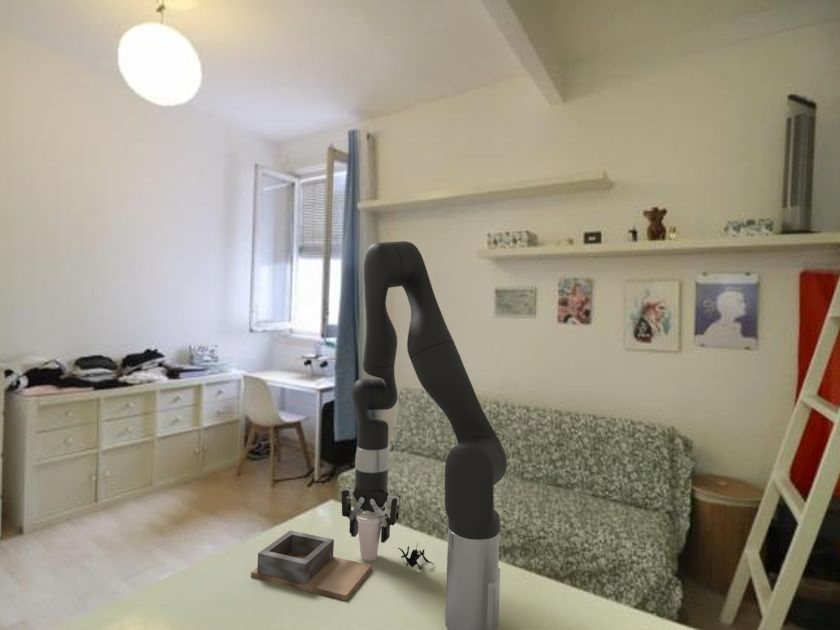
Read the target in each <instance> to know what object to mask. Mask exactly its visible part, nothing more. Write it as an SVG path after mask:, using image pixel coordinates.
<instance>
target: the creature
mask: <svg viewBox="0 0 840 630" xmlns="http://www.w3.org/2000/svg"><path fill="white" fill-rule="evenodd" d="M418 544H419V542H417V544H416V548H415V549H413V550H412V551H411V554H410V557H408V555H409V551H410V546H407V548H406V550H407V551H406V553H405V551H404V550H403V549H402V548H400V547H398V548H397V550H398V549H399V550H400V552H401V553H402V554H403V555H401V556H400V558H403V559H404V558H405V561H406V565H405V566H406V567H408V565H409V566H410V568H411V569H413V568H414V567H415V566H416V565H418V569H419V570H422V568H423V567H424V563H421V564H419V562H418V560H419V559H420V558H421V557H422V558H423V560H424V561H425V563H427V564H429V563H430V564H433V562H432V561H429V560H428V559H427V558H426V556H425V549H422V550H421V549H419V550H418ZM420 565H422V566H420Z"/></svg>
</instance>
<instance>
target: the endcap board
mask: <svg viewBox="0 0 840 630" xmlns="http://www.w3.org/2000/svg"><path fill="white" fill-rule="evenodd" d="M334 543H335V540H334V538H329V537H323V536H318V535H315V534H310V533H305V532H300V531H294V530H289V531H287V532H286V533H284V534H283V535H281V536H280V537H278V538H277V539H276V540H274V541H273V542H272V543H270V544H269V545H267V546H266V547H264V548H263V549H262V550H261V551H259V552H258V553H257V567H256V568H254V569H253V570H252V571H250V577H251V576H252V577H251V578H253V577H255V578H254V579H257V578H259V579H258V580H260V581H266V582H269V583H274V584H277V585H282V586H285V587H290V588H293V589H298V590H302V591H305V592H310V593H314V594H318V595H321V596H325V597H330V598H334V599H338V600H342V601H345V602H346V601H347V600H348V599H349V598H350V597H351V596H352V594H353V593H354V592H355V590H356V589H357V588H358V587H359V586H360V584H361V583H362V582H364V580H365V579H366V577H367V576H368V575H369V574H370V573H371V571H372V570H373V565H372V564H368V563H363V562H359V561H354V560H350V559H345V558H341V557H336V556H334V550H335V549H334V545H335V544H334Z"/></svg>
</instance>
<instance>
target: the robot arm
mask: <svg viewBox="0 0 840 630" xmlns="http://www.w3.org/2000/svg"><path fill="white" fill-rule="evenodd" d="M418 248H419V247H417V246H416V245H415V244H414V243H413V242H409V241H402V240H401V241H388V242H387V241H386V242H376V243H373V244H371V245H370V246H369V247H368V248H367V251H366V253H365V257H364V262H363V281H364V282H363V283H364V302H365V303H364V306H365V319H366V320H365V321H366V328H365V329H366V330H365V334H366V335H365V343H364V344H365V345H364V352H363V360H362V361H363V362H362V367H363V370H364V372H365V373H366V374H368V375H369V376H371V377H375V378H370V379H369V378H360V379H357V380H356V381H355V382H354V384H353V385H352V388H351V398H352V403H353V406H354V410H355V415H356V422H357V446H356V452H355V463H354V464H355V467H354V468H355V471H354V472H355V473H354V489H352V488H351V487H346V488H345V489H343V490H342V491H341V516H342V517H346V518H348V520H349V534H350V535H351V536H350V537H353V538H356V537H357V535H359V530H358V521H357V519H356V517H357V513H358V512H359V511H361V510H362V511H370V512H373V513H376V515H377V517H378V518H380V521H381V523H382V527H381V533H380V542H381V543H382V544H385V543H386V542H387V541H388V540H389V538H390V537H391V536H390V535H391V526H394V525H395V524H396V523H397V522H398V521H399V516H400V505H401V496H400V495H398V494H396V495H395V496H394V495H389V493H388V486H389V485H388V481H389V480H388V479H389V458H390V457H389V428H390V427H389V423H388V422H387V421H385V420H384V419H381V418H374V417H371V416H369V415H368V414H369V413H368V411H383V410H384V411H386V410H387V411H388V410H391V409H392V408H394V407H395V406H396V404H397V403H398V397H399V394H398V388H397V384H396V378H395V377H396V376H395V366H396V365H395V363H396V358H397V357H396V356H397V349H398V335H397V331H396V328H395V327H394V324H393V322H392V320H391V318H390V315H389V313H388V310H387V295H388V292H389V291H388V290H389V288H397V287H402V288H403V290H404V292H405V294H406V297H407V300H408V302H409V307H410V322H409V326H408V327H409V328H408V333H407V343H406V346H407V348H406V349H407V354H408V357H409V360H410V362H411V365H412V367H413V370H414V372H415V375H416V377H417V378H418V381H419V383H420V384H421V386H422V387H423V389H424V390H425V392H426V393H427V394H428V396H429V397H430V398H431V399H432V400H433V402H435V403H436V405H437V406H438V407H439V408H440V409H441V411H442V412H443V413H444V415H445V416H446V418H447V419H448V421H449V424H450V425H451V428H452V431H453V432H454V436H455V438H456V441H457V444H455V446H453V447H452V448H451V449H450V450H449V452H448V454H447V457H446V460H445V467H444V507H445V513H446V516H447V518H448V524H447V525H448V530H447V555H446V557H447V558H446V584H445V585H446V586H445V588H446V589H445V607H444V613H445V614H444V615H445V616H444V617H445V618H444V622H445V626H446V629H447V630H497V629H498V628H497V627H498V624H499V619H500V589H501V588H500V587H501V568H500V567H499V562H500V559H499V558H500V557H499V556H500V531H501V529H500V528H501V518H500V514H499V513H498V512H497V510H495V509H494V486H495V485H496V484H498V482H500V481H501V480H502V478H503V477H504V476H505V474H506V472H507V469H508V468H507V467H508V461H507V460H508V457H507V455H506V451H505V448H504V446H503V445H502V443H501V441H500V439H499V437H498V435H497V434H496V432H495V430H494V428H493V426H492V425H491V422H490V421H489V419H488V417H487V416H486V414H485V412H484V410H483V407H482V405H481V404H480V402H479V399H478V396H477V394H476V392H475V389H474V386H473V385H472V382H471V380H470V377H469V375H468V372H467V371H466V367H465V366H464V363H463V360H462V357H461V355H460V353H459V350H458V348H457V345H456V344H455V342H454V339H453V336H452V335H451V333H450V331H449V328H448V326H447V324H446V321H445V318H444V316H443V313H442V311H441V308H440V306H439V303H438V301H437V299H436V295H435V292H434V289H433V286H432V283H431V279H430V276H429V273H428V269H427V267H426V264H425V261H424V258H423V256H422V254H421V251H420V250H419V249H418ZM352 498H354V499H355V502H356V504H355V505H354V507H353V509H352ZM387 502H388V505H389V507H390V512H389V511H388V508H387V505H386V503H387ZM389 513H390V514H389Z"/></svg>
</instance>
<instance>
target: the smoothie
mask: <svg viewBox="0 0 840 630" xmlns="http://www.w3.org/2000/svg"><path fill="white" fill-rule="evenodd" d="M356 519H357V521H358V540H359V541H358V543H359V552H360V554H359V555H360V559H362V560H363V561H374V560H375V559H377V557H378V552H379V545H380V540H381V527H382V526H383V525H382V523H381V521H380V518H378V517H377V515H376V513H373V512H370V511H362V510H361V511H359V512H358V513H357V517H356Z"/></svg>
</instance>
